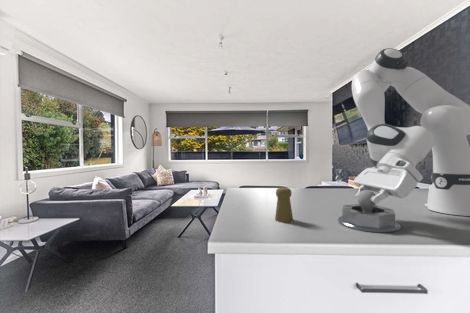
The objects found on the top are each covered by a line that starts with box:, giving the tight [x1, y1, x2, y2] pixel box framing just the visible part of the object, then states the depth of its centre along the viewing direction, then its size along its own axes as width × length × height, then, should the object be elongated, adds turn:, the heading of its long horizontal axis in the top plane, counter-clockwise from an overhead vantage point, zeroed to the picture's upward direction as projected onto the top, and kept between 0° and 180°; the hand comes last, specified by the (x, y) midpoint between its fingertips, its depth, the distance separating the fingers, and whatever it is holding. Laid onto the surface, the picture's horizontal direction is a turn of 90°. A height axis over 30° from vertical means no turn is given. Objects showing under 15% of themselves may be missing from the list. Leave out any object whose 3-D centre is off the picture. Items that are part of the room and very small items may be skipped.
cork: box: [274, 187, 294, 224], centre depth 79 cm, size 6×6×11 cm
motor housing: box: [337, 203, 401, 234], centre depth 74 cm, size 17×17×5 cm
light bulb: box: [356, 190, 377, 213], centre depth 74 cm, size 6×6×10 cm
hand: (364, 200), depth 74 cm, fingers open, 6 cm apart
